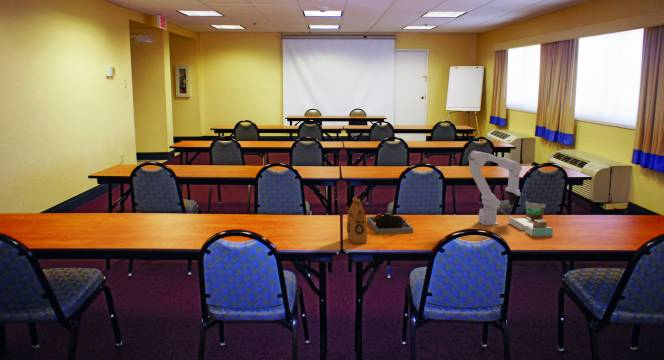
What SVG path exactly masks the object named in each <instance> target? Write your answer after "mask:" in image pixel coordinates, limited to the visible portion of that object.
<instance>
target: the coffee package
mask: <svg viewBox="0 0 664 360" xmlns="http://www.w3.org/2000/svg"><path fill="white" fill-rule="evenodd" d="M346 221H347V222H346V232H347V236H346V237H347V238H348V239H349V241H350V242H351V243H352V244H353V245H362V244H363V245H364V244H368V221H367V216H366V213H365V209H364V207H363V205H362V201H361V199H359V198H357V197H355V196H353V197H352V203H351V205H350V206H349V209H348V210H347V219H346Z"/></svg>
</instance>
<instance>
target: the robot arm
mask: <svg viewBox="0 0 664 360" xmlns="http://www.w3.org/2000/svg"><path fill="white" fill-rule="evenodd" d="M467 158H468V159H467V160H468V161H469V163H468V164H469V167H468V168H469V172H470V174H471V176H472V178H473V181H474V183H475V184H476V186H477V188H478V190H479V192H480V194H481V196H480V198H481V202H482V205H483V207H481V208H480V209H479V211H478V221H477V222H478V223H480V224H482V225H483V226H489V225H491V226H492V225H496V226H497V225H499V224H500V223H499V222H497V214H498V213H497V212H498V208H499V207H500V205H501V201H500V199H498V198H497V197H496V195H495V194H494V193H493V192H492V191H491V189H490V186H489V184H488V183H487V181H486V178H485V176H484V175H483V172H482V168H483V167H484V165H485V164H486V163H487V162H489V161H490V162H493V163H494V164H495V163H496V164H497V165H498V166H499V167H500V168H503V169H505V170H507V171H508V181H507V182H508V183H507V186H506V187H505V188H504V190H505V191H506V196H507V199H508V204H509V206H515V203H516V201H517V198H518V197H520V196H521V194H522V193H521V192H520V191H521V190H520V189H519V183H520V175H521V171H522V170H523V166H522V164H521V163H520V162H518V161H515V160H514V159H509V157H506V156H503V157H501V158H500V157H498V156H497V155H493V154H491V153H487V152H482V151H478V150H471V152H470V153H469V156H468V157H467Z"/></svg>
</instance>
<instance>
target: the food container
mask: <svg viewBox="0 0 664 360" xmlns="http://www.w3.org/2000/svg"><path fill="white" fill-rule="evenodd" d="M524 205H525V215H526V216H525V218H526V217H529V218H531V221H533V220H543V218H544V212H545V208H546V207H547V206H546V203H538V202H530V201H528V200H525V203H524Z"/></svg>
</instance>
